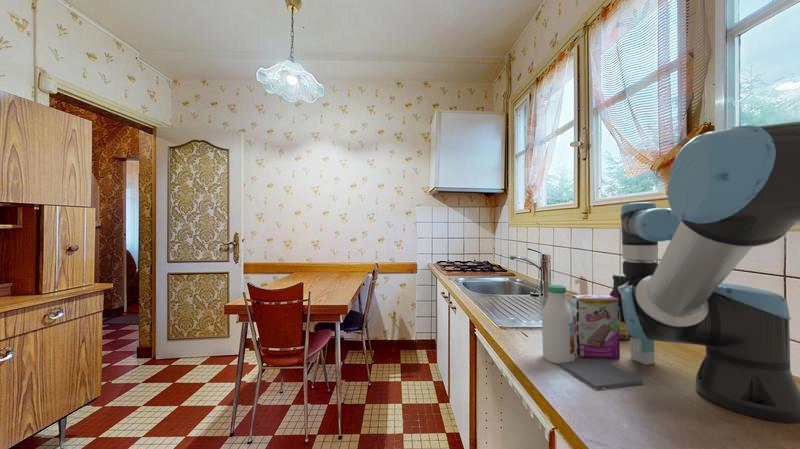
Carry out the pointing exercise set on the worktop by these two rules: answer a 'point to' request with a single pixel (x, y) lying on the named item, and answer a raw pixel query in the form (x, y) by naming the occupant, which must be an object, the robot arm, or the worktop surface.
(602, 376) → the mat
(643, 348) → the stick
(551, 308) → the milk bottle
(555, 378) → the worktop surface
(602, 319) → the candy bar box
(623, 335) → the sauce bottle
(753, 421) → the worktop surface
